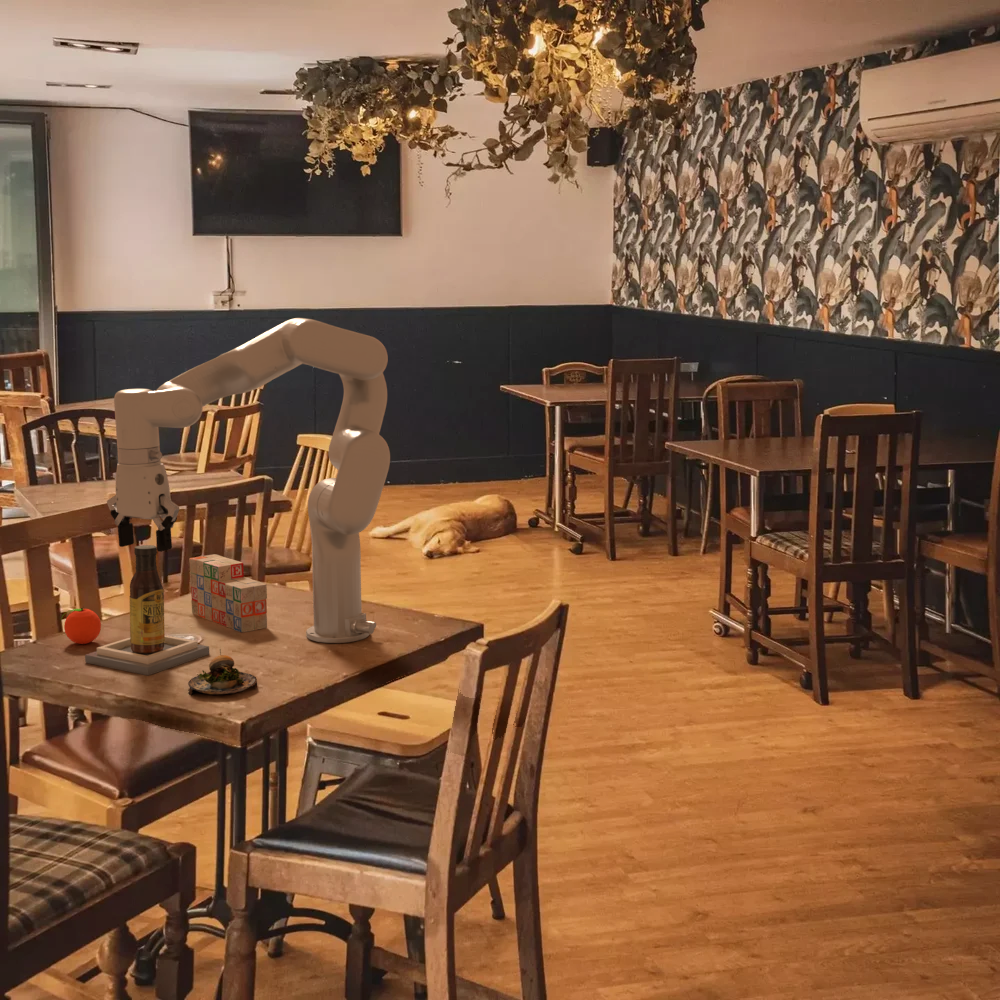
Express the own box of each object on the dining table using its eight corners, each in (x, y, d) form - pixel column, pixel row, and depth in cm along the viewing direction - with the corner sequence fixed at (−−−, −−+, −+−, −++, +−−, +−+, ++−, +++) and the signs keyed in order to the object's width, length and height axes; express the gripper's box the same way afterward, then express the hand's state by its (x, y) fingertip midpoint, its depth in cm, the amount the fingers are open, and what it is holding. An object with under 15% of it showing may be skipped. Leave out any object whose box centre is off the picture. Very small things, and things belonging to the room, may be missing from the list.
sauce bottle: (147, 657, 251) (142, 551, 248) (123, 652, 255) (118, 548, 251) (173, 648, 257) (168, 545, 254) (149, 644, 260) (145, 542, 257)
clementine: (53, 647, 264) (51, 611, 262) (69, 637, 270) (67, 603, 269) (93, 648, 262) (91, 613, 261) (107, 639, 269) (106, 604, 268)
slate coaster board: (209, 654, 259) (208, 640, 258) (147, 675, 245) (147, 661, 245) (148, 642, 267) (147, 629, 266) (85, 662, 253) (84, 648, 253)
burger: (179, 700, 232) (178, 658, 231) (197, 679, 244) (196, 639, 242) (249, 701, 231) (248, 659, 230) (264, 680, 243) (263, 640, 242)
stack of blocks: (268, 628, 278) (266, 569, 276) (241, 633, 274) (239, 573, 272) (217, 608, 294) (215, 552, 292) (190, 613, 290) (188, 556, 288)
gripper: (188, 456, 248) (194, 548, 251) (120, 451, 257) (127, 539, 260) (158, 462, 242) (165, 556, 245) (90, 456, 251) (97, 547, 254)
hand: (145, 547), depth 253 cm, fingers open, 9 cm apart
